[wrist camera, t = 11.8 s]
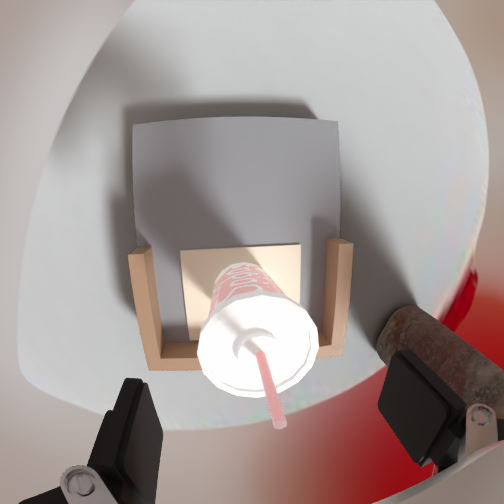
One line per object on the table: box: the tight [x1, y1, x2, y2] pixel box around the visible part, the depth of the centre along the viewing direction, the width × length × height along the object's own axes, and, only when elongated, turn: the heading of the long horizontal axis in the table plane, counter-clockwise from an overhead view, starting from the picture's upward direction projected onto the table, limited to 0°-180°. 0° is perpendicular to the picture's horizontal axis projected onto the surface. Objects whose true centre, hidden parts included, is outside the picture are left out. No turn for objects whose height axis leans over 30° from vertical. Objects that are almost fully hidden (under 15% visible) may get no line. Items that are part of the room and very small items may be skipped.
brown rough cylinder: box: [376, 305, 504, 419], centre depth 19 cm, size 8×7×20 cm
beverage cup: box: [197, 262, 319, 429], centre depth 15 cm, size 6×6×14 cm
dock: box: [128, 117, 354, 371], centre depth 22 cm, size 19×16×6 cm
